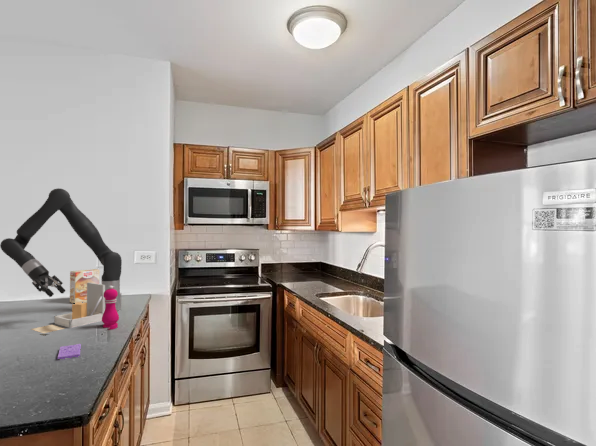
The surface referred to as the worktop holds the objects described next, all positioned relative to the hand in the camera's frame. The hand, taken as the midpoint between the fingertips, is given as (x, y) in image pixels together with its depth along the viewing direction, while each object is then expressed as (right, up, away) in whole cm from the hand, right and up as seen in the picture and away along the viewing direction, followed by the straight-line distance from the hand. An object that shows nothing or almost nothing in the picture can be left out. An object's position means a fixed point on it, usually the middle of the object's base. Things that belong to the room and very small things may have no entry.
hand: (58, 293), depth 179 cm
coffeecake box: (-17, -15, +51) cm, 56 cm away
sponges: (+31, -15, -40) cm, 53 cm away
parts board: (+3, -15, -12) cm, 19 cm away
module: (+11, -14, 0) cm, 17 cm away
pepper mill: (+29, -15, -7) cm, 33 cm away
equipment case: (+11, -15, 0) cm, 18 cm away
